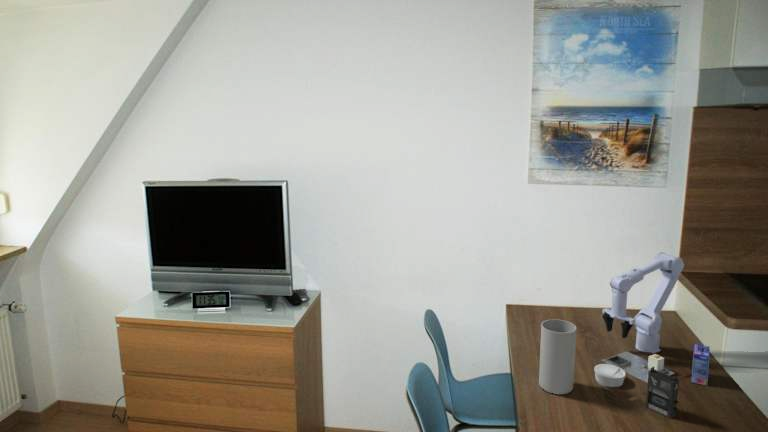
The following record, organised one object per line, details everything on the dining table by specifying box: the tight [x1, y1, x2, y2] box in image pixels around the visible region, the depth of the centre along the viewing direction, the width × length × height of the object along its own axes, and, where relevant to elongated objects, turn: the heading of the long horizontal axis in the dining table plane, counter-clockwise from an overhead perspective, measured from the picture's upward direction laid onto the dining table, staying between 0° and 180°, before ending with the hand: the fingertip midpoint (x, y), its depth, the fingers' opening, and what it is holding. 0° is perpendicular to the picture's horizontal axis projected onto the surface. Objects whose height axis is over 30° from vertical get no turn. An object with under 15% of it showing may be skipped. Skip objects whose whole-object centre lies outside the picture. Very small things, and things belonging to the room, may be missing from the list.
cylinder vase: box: [538, 318, 577, 395], centre depth 195 cm, size 12×12×25 cm
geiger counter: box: [645, 367, 680, 419], centre depth 179 cm, size 10×4×15 cm, turn 35°
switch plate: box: [601, 351, 676, 384], centre depth 210 cm, size 16×22×2 cm
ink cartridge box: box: [691, 341, 711, 386], centre depth 200 cm, size 10×6×14 cm, turn 148°
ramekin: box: [593, 363, 627, 389], centre depth 199 cm, size 11×11×5 cm
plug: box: [647, 353, 665, 372], centre depth 205 cm, size 4×4×7 cm
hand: (616, 334), depth 220 cm, fingers open, 7 cm apart
